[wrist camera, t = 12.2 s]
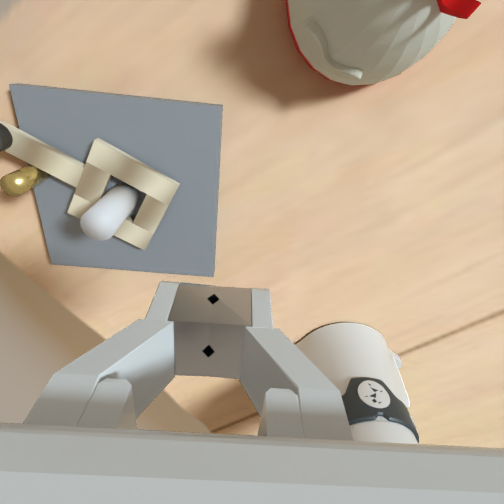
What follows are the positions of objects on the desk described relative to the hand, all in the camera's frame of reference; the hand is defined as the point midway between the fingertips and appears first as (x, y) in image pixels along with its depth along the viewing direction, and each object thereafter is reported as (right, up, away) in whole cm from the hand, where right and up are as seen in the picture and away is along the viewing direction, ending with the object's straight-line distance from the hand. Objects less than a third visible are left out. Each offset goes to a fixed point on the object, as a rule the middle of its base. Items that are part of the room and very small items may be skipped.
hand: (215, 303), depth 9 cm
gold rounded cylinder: (-21, +10, +26) cm, 35 cm away
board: (-13, +9, +29) cm, 32 cm away
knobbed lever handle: (-17, +10, +26) cm, 32 cm away
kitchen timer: (+11, +24, +20) cm, 33 cm away
